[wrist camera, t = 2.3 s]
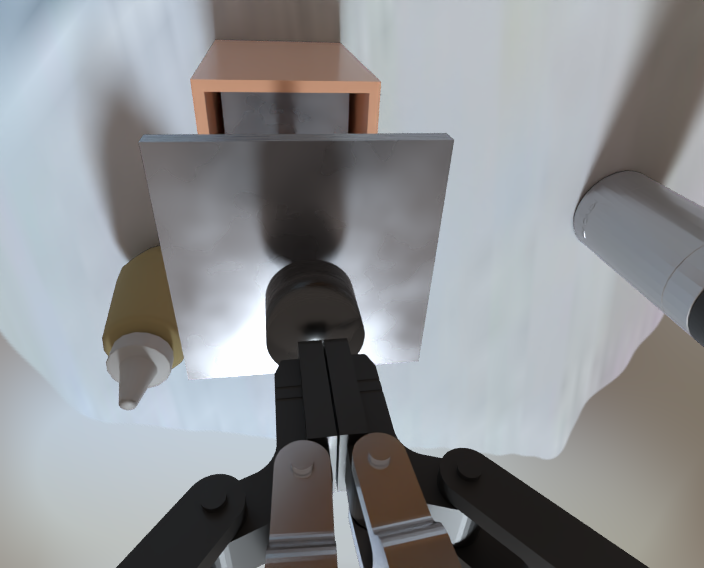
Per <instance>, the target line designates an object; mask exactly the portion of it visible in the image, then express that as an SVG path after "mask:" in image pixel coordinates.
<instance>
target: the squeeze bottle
mask: <svg viewBox="0 0 704 568" xmlns="http://www.w3.org/2000/svg"><path fill="white" fill-rule="evenodd" d="M102 341H103V347H104V351H105V352H106V354H107V355H108V359H107V361H106V365H107V371H108V373H109V374H110V375H111V377H112V378H113V379H114V380H115V381H117V382H119V406H120V407H121V408H122V409H125V410H132V409H134V408H136V406H137V405H138V403H139V401H140V400H141V398H142V396H143V395H144V393H145V391H146V390H147V388H151V387H155V386H158V385H160V384H161V383H163V382H164V381H165V380H167V378H168V376H169V374H170V373H171V369H173V368H174V367H176V366H177V365H178V364H180V363H181V362H182V360H183V359H184V356H183V351H182V346H181V341H180V337H179V332H178V327H177V322H176V318H175V313H174V308H173V303H172V299H171V294H170V289H169V284H168V280H167V275H166V270H165V265H164V261H163V256H162V251H161V246H156V247H153V248H150V249H148V250H146V251H145V252H143V253H141V254H140V255H138V256H136V257H135V258H134V259H132V260H131V261H130V262H129V263H127V264H126V265H125V266H123V267H122V270H121V272H120V274H119V276H118V279H117V282H116V286H115V290H114V293H113V297H112V301H111V305H110V309H109V313H108V317H107V321H106V325H105V329H104V333H103V337H102Z"/></svg>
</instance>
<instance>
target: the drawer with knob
mask: <svg viewBox="0 0 704 568" xmlns="http://www.w3.org/2000/svg"><path fill="white" fill-rule="evenodd" d="M221 100H222V109H223V118H224V128H225V134H183V135H143V136H142V138H141V139H140V141H139V147H140V151H141V156H142V161H143V166H144V170H145V175H146V180H147V185H148V189H149V194H150V199H151V204H152V208H153V213H154V218H155V223H156V227H157V232H158V237H159V242H160V246H161V251H162V256H163V261H164V265H165V270H166V275H167V280H168V284H169V289H170V294H171V299H172V303H173V308H174V313H175V318H176V322H177V327H178V332H179V337H180V341H181V346H182V351H183V356H184V360H185V365H186V370H187V375H188V379H189V380H196V379H208V378H220V377H232V376H245V375H257V374H269V373H275V371H276V369H277V367H278V365H279V364H280V362H281V360H290V359H298V342H299V341H313V340H322V345H323V340H325V339H339V338H347V340H348V344H349V348H350V352H351V355H353V354H366V355H367V356H368V357H369V358H370V360H371V361H372V362H373V363H374V364H375V365H379V364H391V363H403V362H415V361H419V355H420V349H421V343H422V336H423V330H424V324H425V318H426V311H427V305H428V299H429V293H430V287H431V280H432V274H433V268H434V262H435V255H436V249H437V243H438V237H439V231H440V224H441V218H442V212H443V206H444V200H445V193H446V187H447V181H448V175H449V168H450V162H451V156H452V150H453V144H454V139H453V138H451V137H450V136H449V135H448V134H447V133H394V134H348V118H349V93H289V92H221Z"/></svg>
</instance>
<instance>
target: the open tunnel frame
mask: <svg viewBox="0 0 704 568" xmlns="http://www.w3.org/2000/svg"><path fill="white" fill-rule="evenodd" d="M190 81H191V88H192V96H193V103H194V110H195V117H196V124H197V132H198V134H225V128H224V118H223V109H222V100H221V92H289V93H349V118H348V134H377V131H378V117H379V103H380V89H381V81H380V80H379V79H378V78H377V77H376V76H375V75H374V74H372V73H371V72H370V71H369V70H368V69H367V68H366V67H365V66H364V65H363V64H362V63H361V62H360V61H359V60H358V59H357V58H356V57H355V56H354V55H353V54H352V53H351V52H350V51H348V50H347V49H346V48H345V47H344V46H343V45H342V44H341V43H328V42H288V41H249V40H215V41H214V42H213V44H212V46H211V47H210V49H209V50H208V52H207V53H206V55H205V57H204V58H203V60H202V61H201V63H200V65H199V66H198V68H197V69H196V71H195V72H194V74H193V76H192V77H191V79H190Z"/></svg>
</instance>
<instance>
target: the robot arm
mask: <svg viewBox="0 0 704 568" xmlns="http://www.w3.org/2000/svg"><path fill="white" fill-rule="evenodd" d="M574 230H575V234H576V236H577V237H578V239H579V240H580V241H581V242H582V243H583V244H585V245H586V246H587V247H588V248H589V249H590V250H591V251H593V252H594V253H595V254H596V255H597V256H598V257H599V258H600V259H602V260H603V261H604V262H605V263H606V264H607V265H608V266H610V267H611V268H612V269H613V270H614V271H615V272H617V273H618V274H619V275H620V276H621V277H622V278H624V279H625V280H626V281H627V282H628V283H629V284H631V285H632V286H633V287H634V288H635V289H636V290H638V291H639V292H640V293H641V294H642V295H643V296H645V297H646V298H647V299H648V300H649V301H650V302H652V303H653V304H654V305H655V306H656V307H657V308H658V309H660V310H661V311H662V312H663V313H664V314H665V315H667V316H668V317H669V318H670V319H672V320H673V321H674V322H675V323H676V324H677V325H678V326H680V327H681V328H682V329H683V330H684V331H686V332H687V333H688V334H689V335H690V336H691V337H693V338H694V339H695V340H696V341H697V342H698V343H700V344H701V345H702V346H703V347H704V207H702V206H700V205H698V204H696V203H695V202H693V201H691V200H689V199H687V198H685V197H684V196H682V195H680V194H678V193H676V192H674V191H672V190H671V189H669V188H667V187H665V186H664V185H662V184H660V183H658V182H656V181H654V180H652V179H650V178H649V177H647V176H645V175H643V174H641V173H639V172H635V171H623V172H619V173H615V174H613V175H610V176H608V177H606V178H604V179H603V180H601V181H600V182H598V183H597V184H596V185H595V186H593V187H592V188H591V189H590V190H589V191H588V192H587V194H586V195H585V196H584V197H583V199H582V200H581V202H580V203H579V205H578V208H577V210H576V212H575V217H574ZM275 405H276V437H277V447H276V452H275V454H274V457H273V458H272V460H271V461H270V462H269V464H268V465H267V466H266V467H264V468H263V469H262V470H260V471H259V472H257V473H255V474H253V475H251V476H248V477H246V478H244V479H241V480H237V479H236V478H234V477H232V476H229V475H226V474H215V475H210V476H208V477H205V478H203V479H201V480H200V481H198V482H197V483H195V484H194V485H193V486H192V487H191V488H190V489H189V490H188V491H187V492H186V494H185V495H184V496H183V497H182V498H181V499H180V500H179V501H178V502H177V503H176V504H175V505H174V506H173V507H172V509H171V510H170V511H169V512H168V513H167V514H166V515H165V516H164V517H163V518H162V519H161V520H160V521H159V522H158V524H157V525H156V526H155V527H154V528H153V529H152V530H151V531H150V532H149V533H148V534H147V535H146V536H145V537H144V538H143V539H142V541H141V542H140V543H139V544H138V545H137V546H136V547H135V548H134V549H133V550H132V551H131V552H130V553H129V554H128V556H127V557H126V558H125V559H124V560H123V561H122V562H121V563H120V564H119V565H118V566H117V567H116V568H257V567H259V566H261V565H263V564H264V563H265V568H338V567H337V550H336V541H335V536H334V519H333V518H334V517H333V499H332V495H333V493H334V492H335V483H336V484H337V491H338V492H339V491H347V496H348V502H349V513H348V518H349V524H350V528H351V532H352V536H353V540H354V545H355V549H356V553H357V557H358V561H359V566H360V568H648V567H647V566H646V565H644V564H643V563H641V562H640V561H638V560H637V559H635V558H634V557H632V556H631V555H629V554H628V553H627V552H625V551H624V550H622V549H620V548H619V547H618V546H616V545H615V544H613V543H612V542H610V541H609V540H607V539H606V538H604V537H603V536H602V535H600V534H598V533H597V532H596V531H594V530H593V529H591V528H590V527H588V526H587V525H585V524H584V523H583V522H581V521H580V520H578V519H577V518H575V517H574V516H572V515H571V514H569V513H568V512H566V511H565V510H563V509H562V508H560V507H559V506H557V505H556V504H555V503H553V502H552V501H550V500H549V499H547V498H546V497H544V496H543V495H541V494H540V493H538V492H537V491H535V490H534V489H532V488H531V487H530V486H528V485H527V484H525V483H524V482H522V481H521V480H519V479H518V478H516V477H515V476H513V475H512V474H510V473H509V472H508V471H506V470H505V469H503V468H502V467H500V466H499V465H497V464H496V463H494V462H493V461H491V460H490V459H488V458H487V457H485V456H484V455H482V454H481V453H479V452H477V451H475V450H472V449H468V448H457V449H453V450H450V451H449V452H447V453H446V454H445V455H444V456H443V458H438V457H432V456H427V455H422V454H418V453H416V452H413V451H411V450H410V449H408V448H407V447H405V446H404V445H403V444H402V443H401V442H400V441H399V440H398V438H397V436H396V435H395V432H394V429H393V425H392V422H391V418H390V415H389V411H388V408H387V404H386V401H385V397H384V394H383V392H382V387H381V383H380V381H379V376H378V373H377V369H376V366H375V364H374V363H373V362H372V361H371V360H370V358H369V357H368V356H367V355H366V354H353V355H351V352H350V348H349V344H348V340H347V338H339V339H325V340H323V345H322V340H313V341H299V342H298V359H290V360H281V362H280V364H279V365H278V367H277V369H276V371H275Z"/></svg>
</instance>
